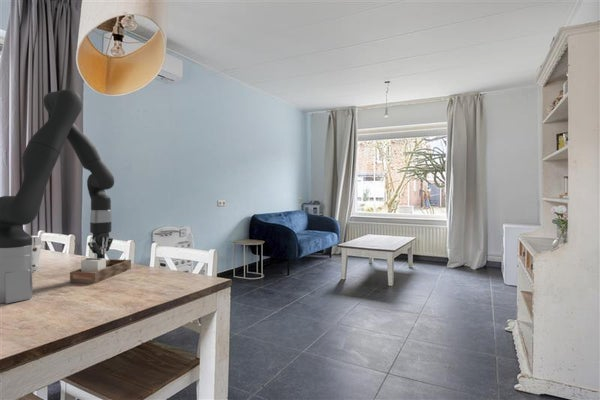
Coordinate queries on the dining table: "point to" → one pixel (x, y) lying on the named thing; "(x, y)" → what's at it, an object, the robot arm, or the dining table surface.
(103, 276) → the wooden tray
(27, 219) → the robot arm
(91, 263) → the slider block
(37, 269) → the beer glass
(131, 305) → the dining table surface
